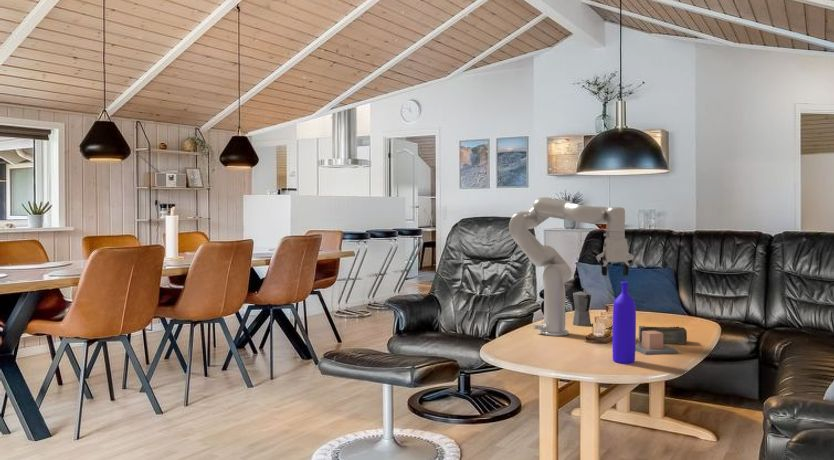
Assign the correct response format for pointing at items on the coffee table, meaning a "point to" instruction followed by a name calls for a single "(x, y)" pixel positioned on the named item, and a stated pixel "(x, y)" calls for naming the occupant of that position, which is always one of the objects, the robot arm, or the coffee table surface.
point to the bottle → (624, 327)
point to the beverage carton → (668, 334)
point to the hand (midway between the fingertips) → (614, 275)
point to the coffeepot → (582, 308)
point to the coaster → (655, 351)
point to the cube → (652, 339)
